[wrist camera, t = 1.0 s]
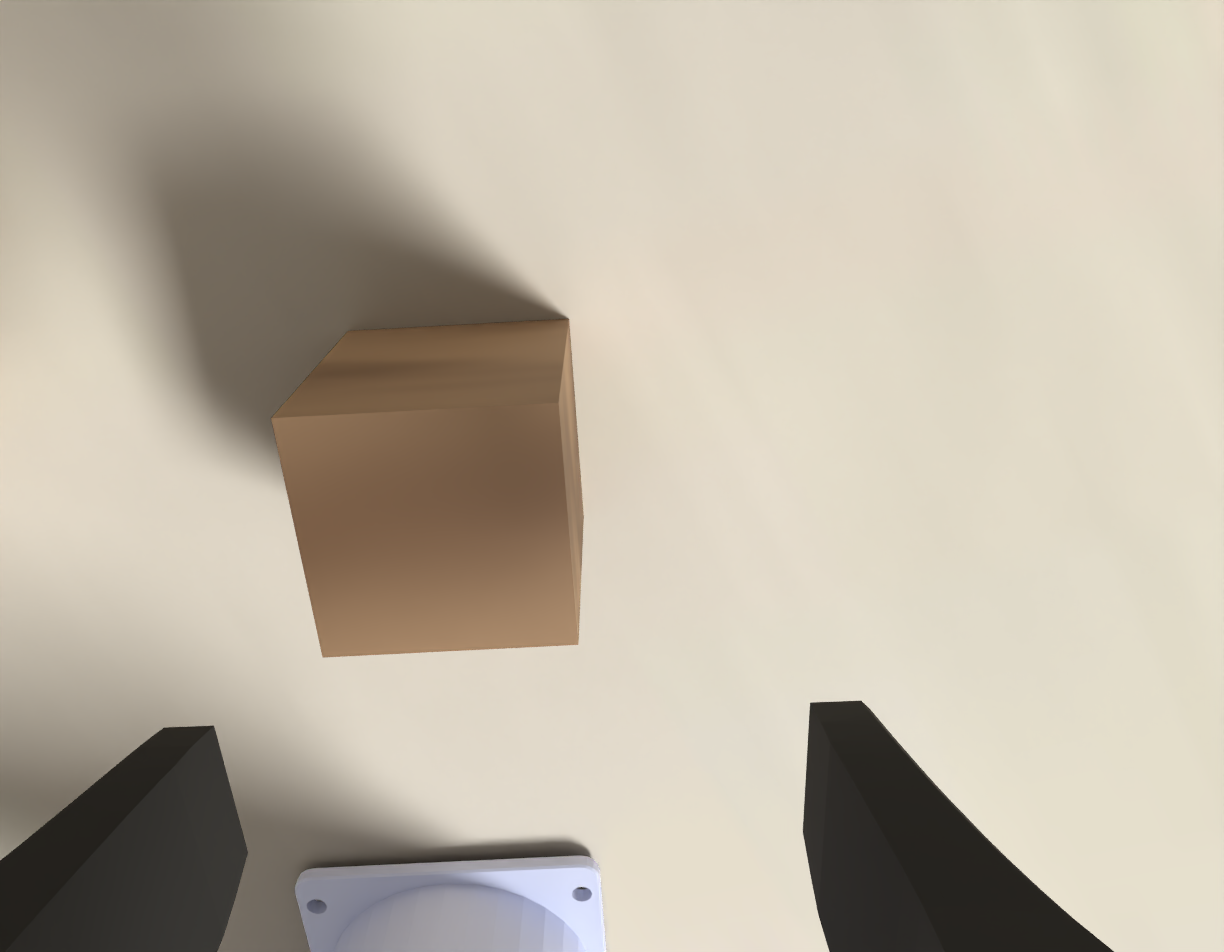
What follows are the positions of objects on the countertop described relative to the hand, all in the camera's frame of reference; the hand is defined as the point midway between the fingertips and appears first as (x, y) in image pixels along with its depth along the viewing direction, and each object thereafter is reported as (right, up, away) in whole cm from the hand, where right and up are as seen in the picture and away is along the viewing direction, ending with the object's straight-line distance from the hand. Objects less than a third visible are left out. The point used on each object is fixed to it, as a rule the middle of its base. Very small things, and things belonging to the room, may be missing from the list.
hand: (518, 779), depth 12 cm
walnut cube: (-2, +5, +9) cm, 10 cm away
